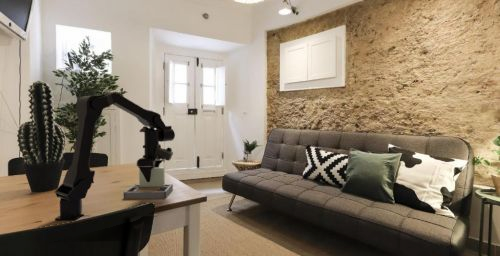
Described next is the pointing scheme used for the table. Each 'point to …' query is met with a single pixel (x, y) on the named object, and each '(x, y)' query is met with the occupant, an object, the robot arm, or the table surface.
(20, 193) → the table surface
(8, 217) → the table surface
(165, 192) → the rack
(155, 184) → the board
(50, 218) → the table surface
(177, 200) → the table surface
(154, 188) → the offcut top
